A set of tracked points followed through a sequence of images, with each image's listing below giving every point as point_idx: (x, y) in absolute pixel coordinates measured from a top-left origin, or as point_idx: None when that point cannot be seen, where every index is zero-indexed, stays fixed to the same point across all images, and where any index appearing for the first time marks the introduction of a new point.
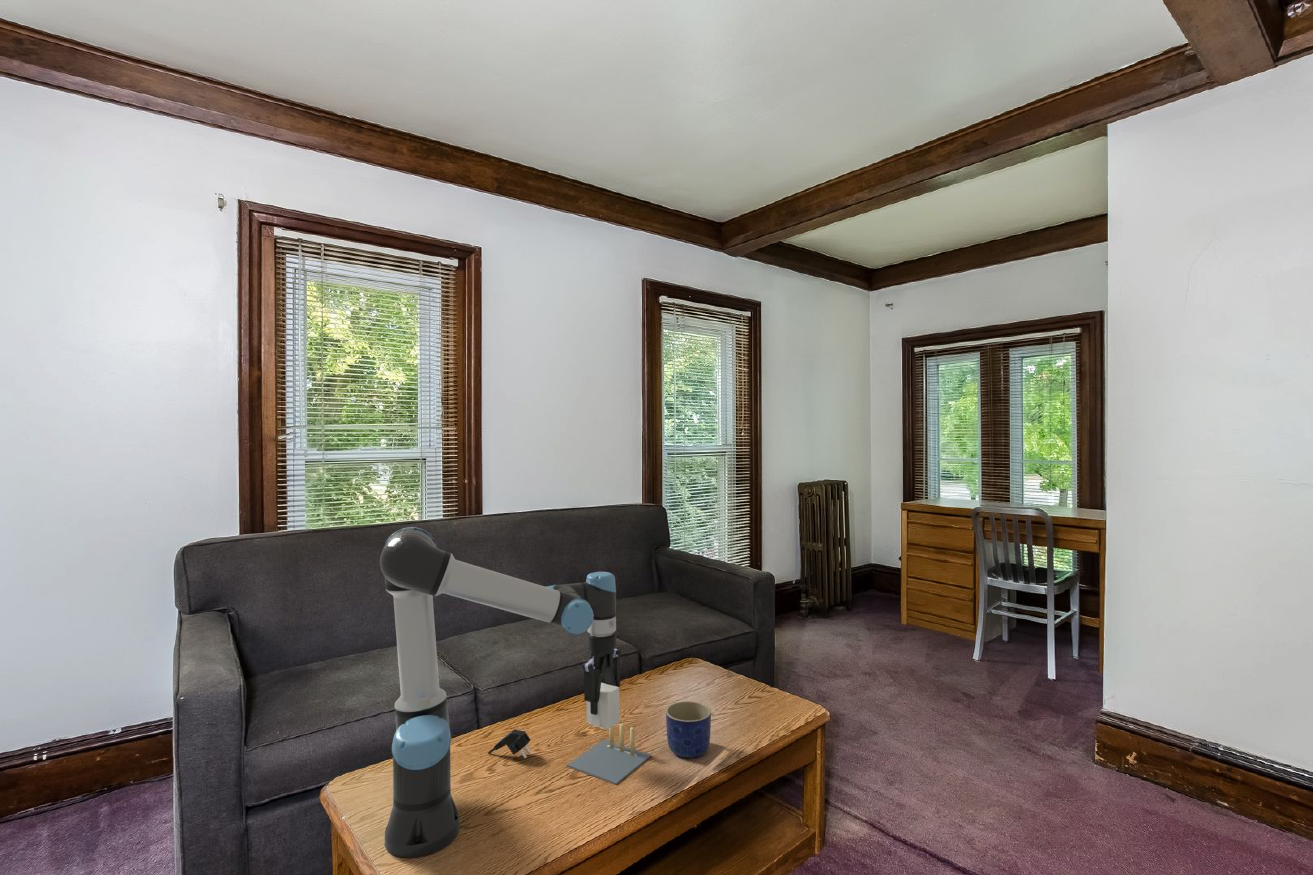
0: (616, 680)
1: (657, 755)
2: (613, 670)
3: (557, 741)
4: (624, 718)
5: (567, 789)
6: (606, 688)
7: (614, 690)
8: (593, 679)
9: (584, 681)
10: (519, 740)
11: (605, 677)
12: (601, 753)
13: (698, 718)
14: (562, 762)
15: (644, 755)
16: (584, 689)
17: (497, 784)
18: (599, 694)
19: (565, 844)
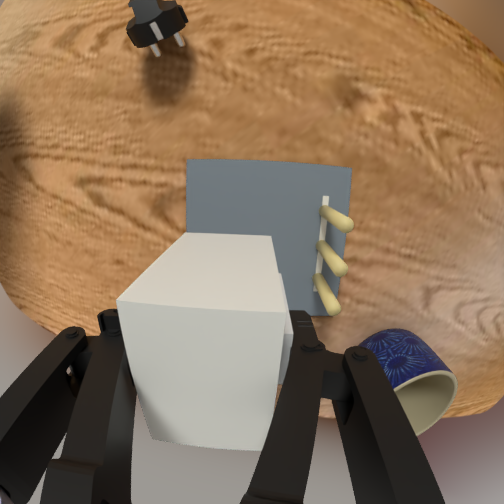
0: (339, 418)
1: (340, 322)
2: (363, 457)
3: (280, 57)
4: (456, 160)
5: (118, 228)
6: (209, 414)
7: (219, 446)
8: (38, 462)
9: (1, 399)
10: (131, 32)
11: (270, 424)
12: (282, 205)
13: (432, 384)
14: (197, 136)
15: (323, 304)
16: (30, 366)
17: (68, 94)
18: (134, 397)
19: (43, 315)
